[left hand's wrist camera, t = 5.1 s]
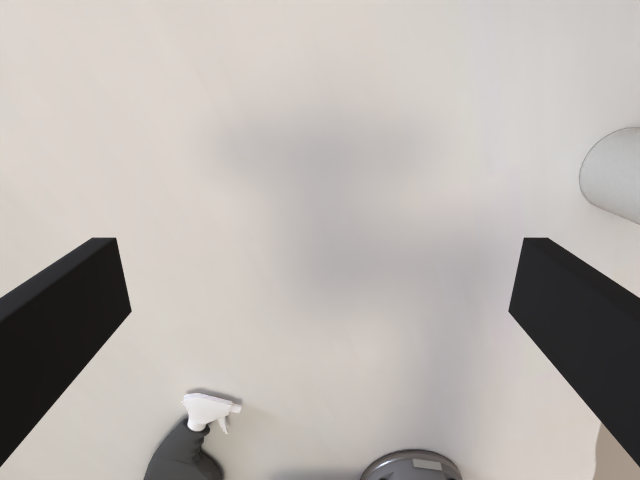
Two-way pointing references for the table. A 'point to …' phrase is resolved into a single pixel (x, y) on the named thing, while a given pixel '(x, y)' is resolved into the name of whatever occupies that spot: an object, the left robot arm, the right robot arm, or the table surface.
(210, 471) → the spray bottle
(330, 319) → the table surface
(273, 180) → the table surface
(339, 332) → the table surface
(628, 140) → the bottle
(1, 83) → the table surface
